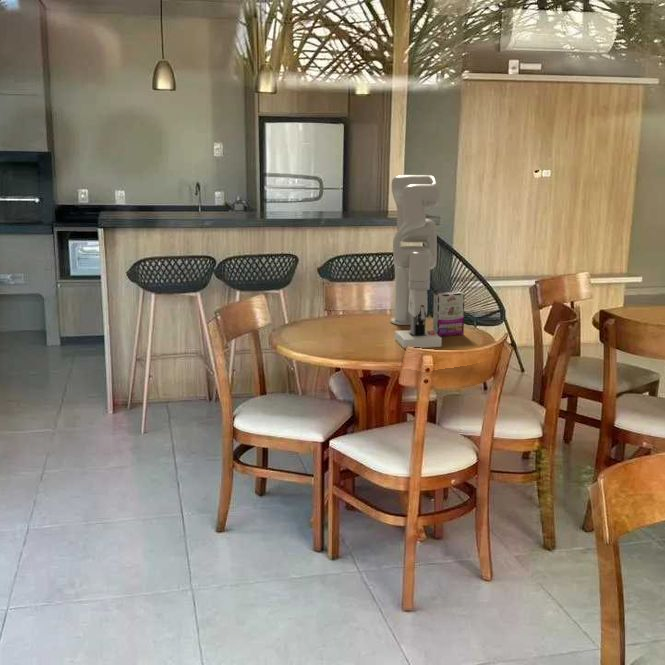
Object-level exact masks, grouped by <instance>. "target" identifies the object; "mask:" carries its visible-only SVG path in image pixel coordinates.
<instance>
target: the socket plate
mask: <svg viewBox="0 0 665 665" xmlns="http://www.w3.org/2000/svg"><path fill="white" fill-rule="evenodd" d="M394 339H395V340H396V342H397V343H398V344H400V346H401V347H402V348H403V349H407V348H406V347H408V346H412V347H420V349H421V348H441V347H442V342H443V340H442V339H443V338H442V336H438V335H437V334H436V333H435V332H434V331H433V329H430V328H429V329H425V336H411V329H408V330H407V329H406V330H394Z"/></svg>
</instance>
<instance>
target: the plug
mask: <svg viewBox="0 0 665 665" xmlns="http://www.w3.org/2000/svg"><path fill="white" fill-rule="evenodd" d="M418 316H421V315H418ZM426 317H427V316H425V320H424V335H415V324H416V317H414V316H413V315H411V325H410V330H411V336H425V330H426V321H427V318H426ZM419 319H420V318H418V321H419Z"/></svg>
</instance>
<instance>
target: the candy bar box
mask: <svg viewBox="0 0 665 665" xmlns="http://www.w3.org/2000/svg"><path fill="white" fill-rule="evenodd" d="M432 310H433V312H432V313H433V314H432V315H433V319H432V320H433V322H432V326H433V327H432V330H433V331H434V332H435V333H436V334H437V335H438V336H440V337H449V336H451V337H452V336H462V335H464V333H465V332H464V328H465V325H464V324H465V293H464V292H462V291H447V292H445V291H444V292H435V293H433V309H432Z"/></svg>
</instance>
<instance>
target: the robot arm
mask: <svg viewBox="0 0 665 665" xmlns="http://www.w3.org/2000/svg"><path fill="white" fill-rule="evenodd" d="M391 192H392V193H391V194H392V197H393V200H394V202H395V206H396V232H395V234H394V237H393V241H392V251H393V252H392V255H393V256H392V258H393V265H394V279H395V280H394V317H392V318H390V322H391V324H394V325H399V326H411V315H413V316H414V317H416V324H415V335H424V320H425V316H426V317H427V315H428V290H430V285H431V284H430V282H431V281H430V278H431V277H430V276H431V270H432V269H435V267H436V265H437V256H438V255H437V254H438V252H437V251H438V250H437V249H438V246H437V244H438V243H437V242H438V241H437V240H438V238H437V236H438V235H437V234H438V233H437V232H438V230H437V226H436V225H437V224H436V223H435V221H434V220H433V219H431V218H427V217H426V216H427V215H426V207H438V206H439V204H440V202H441V190H440V187H439V184H438V182H437V179H436V177H435V176H434V175H431V174H402V175H396V176H394V177H393V178H392V180H391ZM401 243H408V244H409V243H411V244H412V243H413V244H416V243H422V244H424V245H403V246H401V245H402V244H401ZM418 315H421V316H418ZM418 318H420V319H419V321H418Z"/></svg>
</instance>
